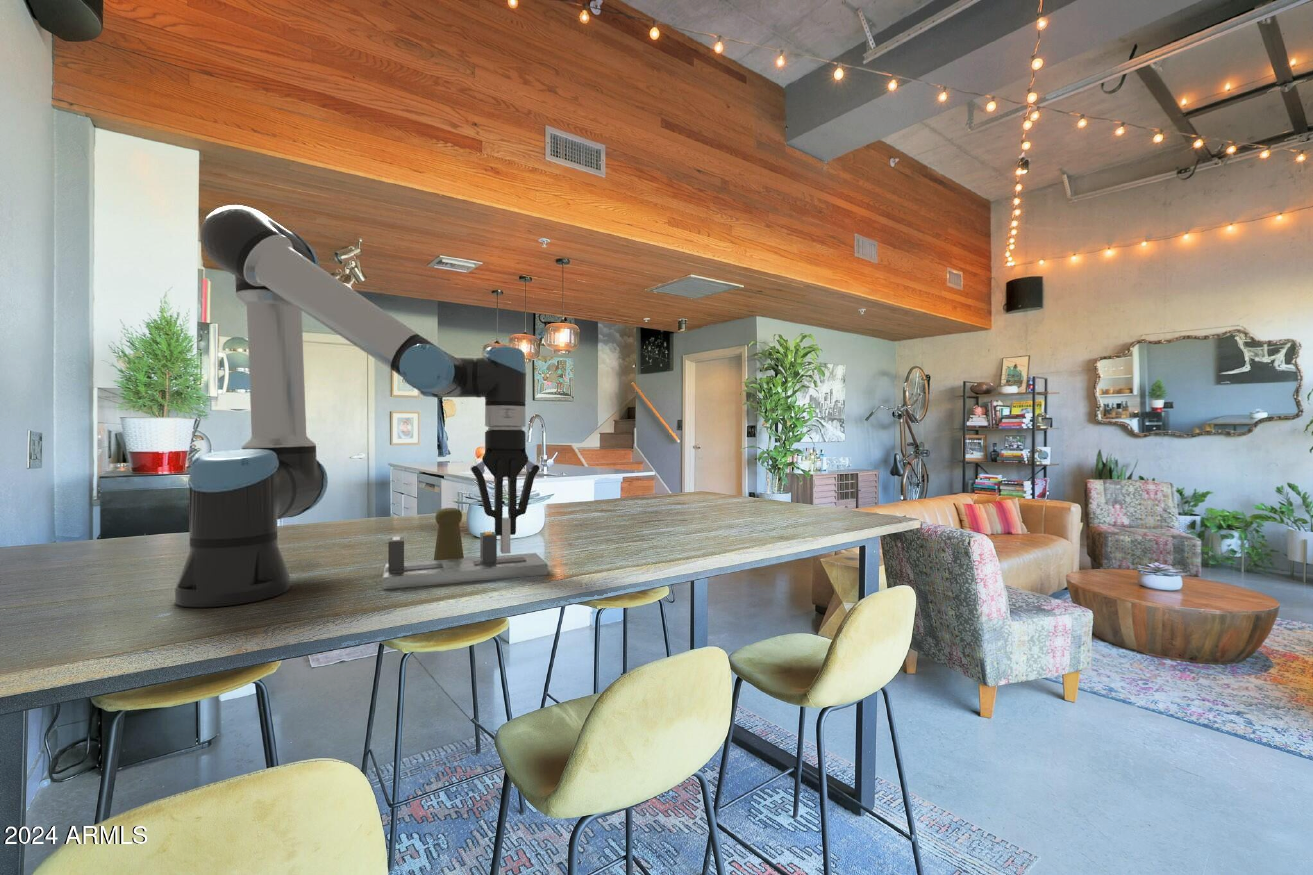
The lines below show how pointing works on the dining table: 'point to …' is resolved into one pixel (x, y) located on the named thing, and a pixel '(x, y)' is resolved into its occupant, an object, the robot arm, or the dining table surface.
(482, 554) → the block
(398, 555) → the block
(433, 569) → the panel
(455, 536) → the cork
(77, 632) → the dining table surface
